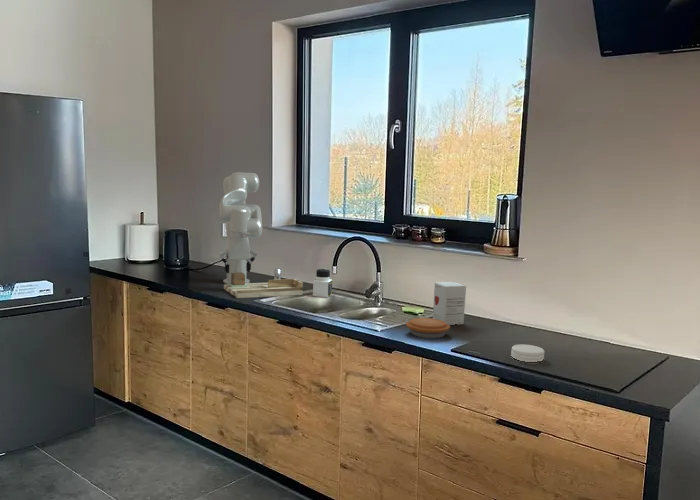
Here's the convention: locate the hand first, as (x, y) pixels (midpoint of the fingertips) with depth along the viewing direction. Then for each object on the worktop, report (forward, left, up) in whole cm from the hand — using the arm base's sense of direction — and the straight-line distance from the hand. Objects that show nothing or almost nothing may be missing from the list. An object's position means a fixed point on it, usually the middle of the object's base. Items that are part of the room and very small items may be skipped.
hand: (237, 272), depth 284 cm
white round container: (+130, +55, -9) cm, 141 cm away
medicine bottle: (+22, +33, -9) cm, 40 cm away
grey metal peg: (+1, +19, -6) cm, 20 cm away
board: (+7, +10, -8) cm, 15 cm away
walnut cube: (+2, 0, -5) cm, 6 cm away
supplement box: (+82, +59, -9) cm, 101 cm away
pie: (+95, +41, -9) cm, 104 cm away
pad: (+1, 0, -6) cm, 6 cm away
